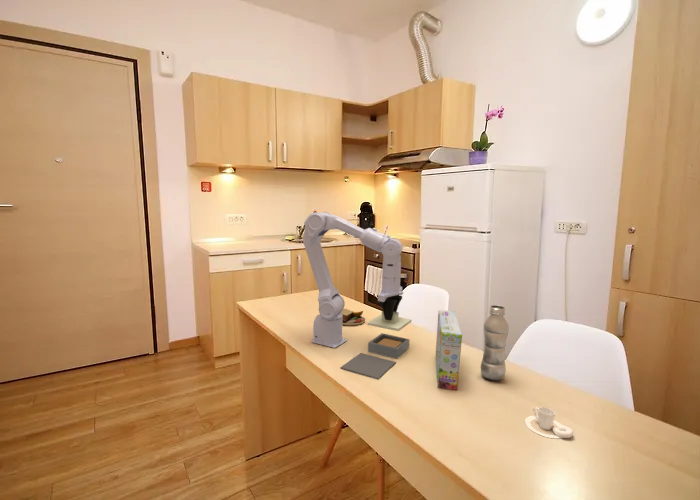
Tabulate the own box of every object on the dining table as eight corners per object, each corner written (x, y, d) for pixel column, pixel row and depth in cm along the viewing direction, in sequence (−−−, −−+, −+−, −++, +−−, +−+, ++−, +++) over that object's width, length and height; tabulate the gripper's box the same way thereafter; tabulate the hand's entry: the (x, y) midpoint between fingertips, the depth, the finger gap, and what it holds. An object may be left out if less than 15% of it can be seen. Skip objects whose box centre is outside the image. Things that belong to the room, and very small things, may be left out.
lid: (367, 326, 113) (367, 313, 113) (381, 317, 122) (382, 305, 122) (398, 332, 108) (399, 319, 107) (411, 323, 117) (411, 310, 116)
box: (368, 351, 114) (368, 342, 114) (381, 341, 123) (381, 333, 123) (397, 358, 109) (397, 349, 109) (409, 347, 118) (409, 339, 118)
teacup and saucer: (579, 440, 73) (581, 422, 73) (545, 445, 71) (547, 426, 71) (547, 416, 82) (549, 399, 81) (516, 419, 80) (518, 402, 79)
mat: (340, 368, 102) (340, 367, 102) (360, 354, 112) (360, 352, 112) (378, 379, 96) (378, 378, 96) (396, 363, 106) (396, 361, 106)
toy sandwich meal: (355, 329, 135) (355, 317, 135) (325, 322, 142) (325, 311, 141) (370, 320, 146) (370, 309, 145) (342, 314, 153) (342, 304, 152)
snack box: (459, 391, 91) (463, 334, 89) (437, 388, 92) (440, 332, 90) (453, 357, 112) (455, 310, 110) (434, 355, 113) (437, 308, 111)
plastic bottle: (504, 374, 100) (509, 305, 98) (506, 385, 94) (511, 311, 92) (479, 370, 103) (484, 302, 100) (480, 381, 96) (485, 309, 94)
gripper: (393, 282, 105) (392, 327, 107) (411, 274, 117) (409, 315, 119) (372, 279, 108) (371, 323, 110) (391, 272, 121) (390, 311, 123)
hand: (389, 318), depth 115 cm, fingers closed on lid, 2 cm apart
